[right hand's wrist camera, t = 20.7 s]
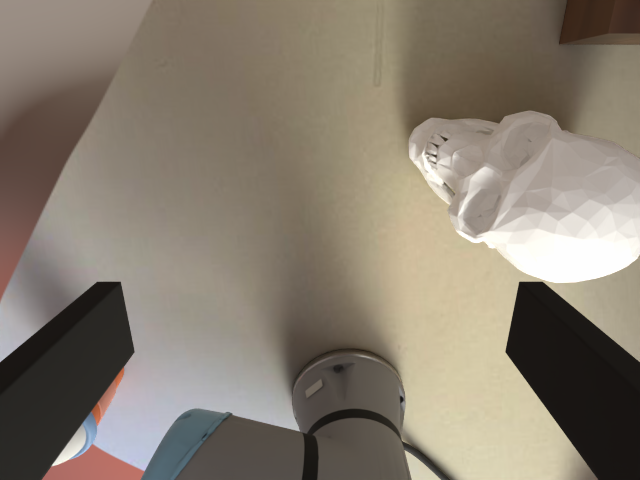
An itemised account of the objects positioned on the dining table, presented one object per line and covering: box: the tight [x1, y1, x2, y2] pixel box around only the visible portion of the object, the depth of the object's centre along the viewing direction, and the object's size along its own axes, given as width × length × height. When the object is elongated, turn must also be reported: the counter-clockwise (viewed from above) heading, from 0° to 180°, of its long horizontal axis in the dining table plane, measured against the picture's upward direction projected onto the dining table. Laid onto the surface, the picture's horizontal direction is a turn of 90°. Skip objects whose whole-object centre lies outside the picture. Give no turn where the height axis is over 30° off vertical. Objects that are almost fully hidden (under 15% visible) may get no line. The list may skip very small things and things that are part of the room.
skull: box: [408, 110, 640, 283], centre depth 36 cm, size 13×22×16 cm, turn 68°
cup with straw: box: [52, 367, 124, 466], centre depth 43 cm, size 9×9×18 cm
